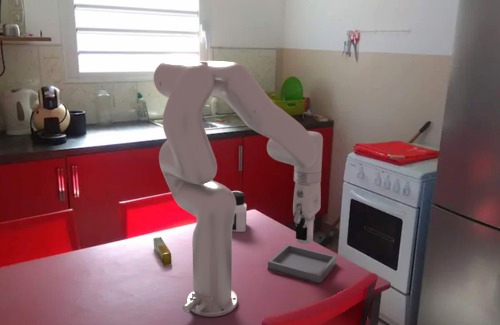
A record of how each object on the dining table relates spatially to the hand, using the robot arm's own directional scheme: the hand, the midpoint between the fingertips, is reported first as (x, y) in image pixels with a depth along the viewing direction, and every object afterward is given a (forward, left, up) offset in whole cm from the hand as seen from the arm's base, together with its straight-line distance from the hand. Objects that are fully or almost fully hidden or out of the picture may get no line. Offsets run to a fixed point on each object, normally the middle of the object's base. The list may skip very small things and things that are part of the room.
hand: (304, 235), depth 130 cm
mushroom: (0, 0, -2) cm, 2 cm away
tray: (0, 0, -10) cm, 10 cm away
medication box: (-16, +40, -10) cm, 44 cm away
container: (+14, +32, -10) cm, 37 cm away
